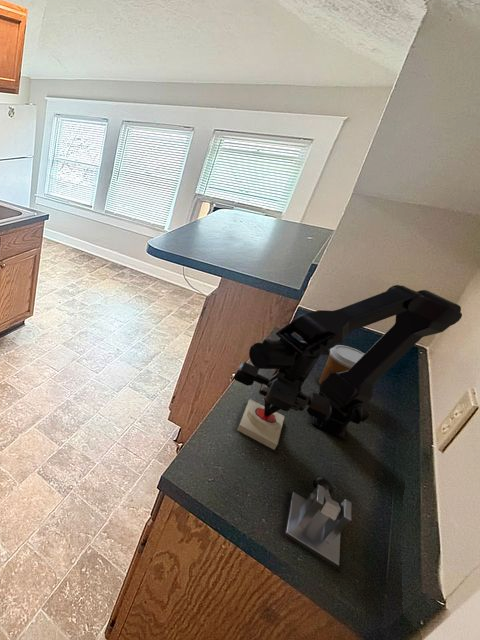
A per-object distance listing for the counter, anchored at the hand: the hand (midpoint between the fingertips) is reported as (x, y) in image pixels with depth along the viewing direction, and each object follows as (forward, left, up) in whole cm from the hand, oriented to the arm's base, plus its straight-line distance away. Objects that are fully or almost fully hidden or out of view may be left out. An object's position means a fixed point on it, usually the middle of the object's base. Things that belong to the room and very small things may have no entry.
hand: (266, 414), depth 93 cm
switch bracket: (+22, +12, -4) cm, 26 cm away
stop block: (0, 0, -4) cm, 4 cm away
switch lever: (+18, +12, -1) cm, 22 cm away
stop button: (0, 0, -2) cm, 2 cm away
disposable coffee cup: (-34, +13, -4) cm, 37 cm away
